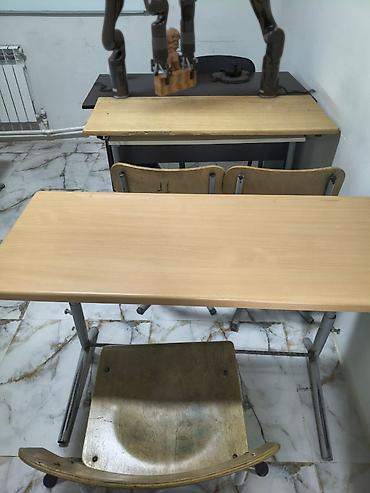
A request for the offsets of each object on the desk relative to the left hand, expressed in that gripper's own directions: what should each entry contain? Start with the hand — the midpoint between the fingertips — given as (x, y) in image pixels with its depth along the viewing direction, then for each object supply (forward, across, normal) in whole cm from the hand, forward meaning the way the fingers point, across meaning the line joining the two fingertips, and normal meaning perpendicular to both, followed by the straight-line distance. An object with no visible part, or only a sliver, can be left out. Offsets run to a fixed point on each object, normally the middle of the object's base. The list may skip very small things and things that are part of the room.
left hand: (162, 83), depth 180 cm
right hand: (+1, 0, -18) cm, 18 cm away
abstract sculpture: (+13, +12, -65) cm, 67 cm away
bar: (+5, 0, -9) cm, 10 cm away
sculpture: (+13, +32, -36) cm, 49 cm away
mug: (+13, +66, -14) cm, 69 cm away
